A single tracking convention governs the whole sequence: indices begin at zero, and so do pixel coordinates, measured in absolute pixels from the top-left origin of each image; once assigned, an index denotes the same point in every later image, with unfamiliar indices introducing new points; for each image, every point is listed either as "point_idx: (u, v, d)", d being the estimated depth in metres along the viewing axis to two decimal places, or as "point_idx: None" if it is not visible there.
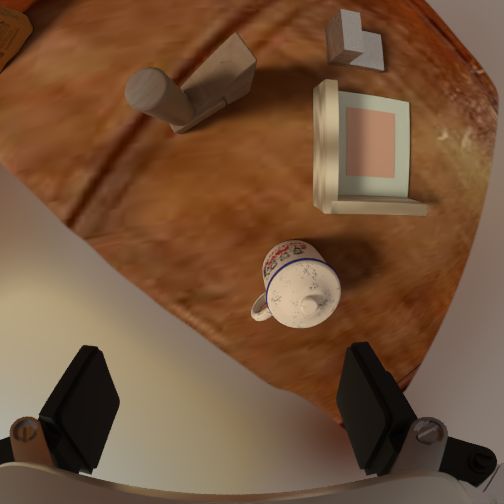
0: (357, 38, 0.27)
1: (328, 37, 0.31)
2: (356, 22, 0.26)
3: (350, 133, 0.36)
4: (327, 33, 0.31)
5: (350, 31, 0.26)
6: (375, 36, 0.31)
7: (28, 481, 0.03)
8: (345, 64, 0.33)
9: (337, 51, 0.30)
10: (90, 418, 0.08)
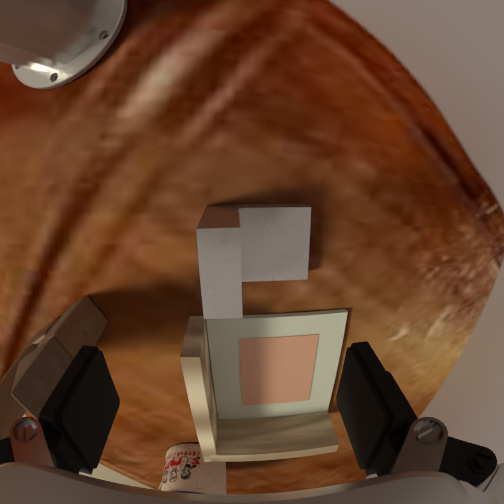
0: (230, 292, 0.18)
1: None
2: (230, 255, 0.18)
3: (245, 368, 0.28)
4: None
5: (217, 280, 0.18)
6: (299, 213, 0.23)
7: (28, 481, 0.03)
8: None
9: None
10: (90, 418, 0.08)
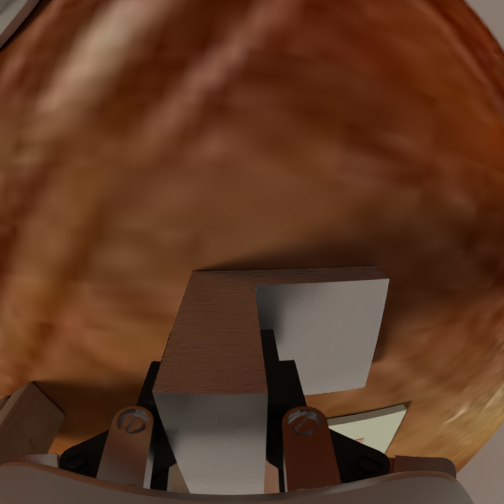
0: (241, 478, 0.07)
1: None
2: (241, 437, 0.06)
3: None
4: None
5: (213, 466, 0.07)
6: (368, 291, 0.11)
7: (28, 481, 0.03)
8: None
9: None
10: None
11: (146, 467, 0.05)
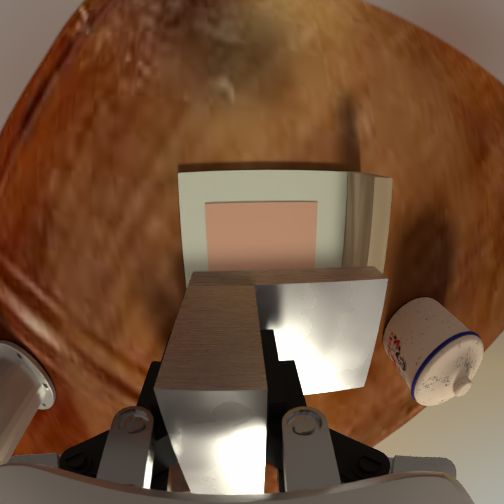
0: (241, 476, 0.07)
1: None
2: (241, 434, 0.06)
3: None
4: None
5: (213, 464, 0.07)
6: (367, 291, 0.12)
7: (28, 481, 0.03)
8: None
9: None
10: None
11: (146, 467, 0.05)
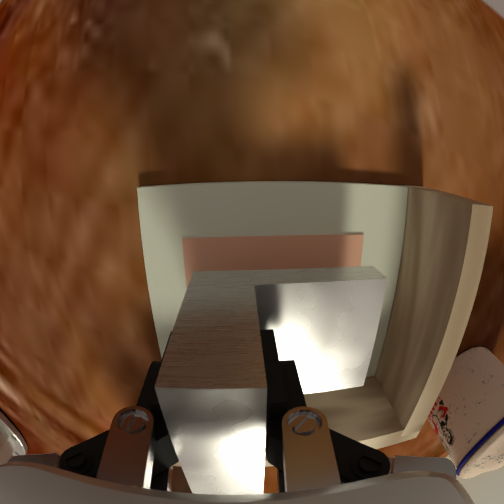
0: (241, 474, 0.07)
1: None
2: (241, 432, 0.07)
3: None
4: None
5: (213, 462, 0.07)
6: (366, 290, 0.12)
7: (28, 481, 0.03)
8: None
9: None
10: None
11: (146, 467, 0.05)
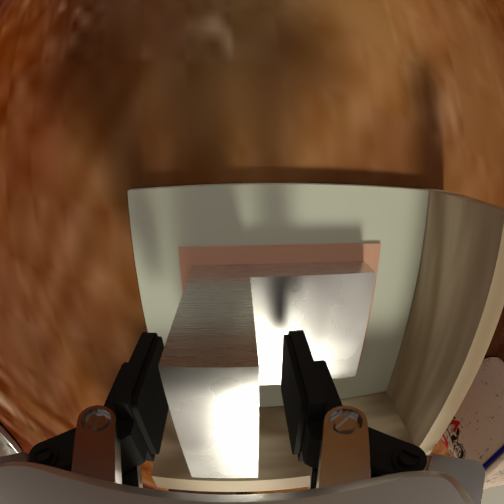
0: (237, 454, 0.08)
1: None
2: (236, 410, 0.07)
3: None
4: None
5: (211, 441, 0.08)
6: (356, 284, 0.12)
7: (28, 481, 0.03)
8: None
9: None
10: (155, 403, 0.09)
11: (115, 462, 0.05)
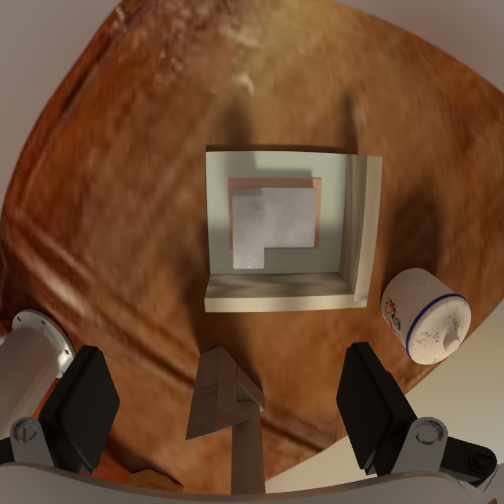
0: (255, 246, 0.24)
1: None
2: (256, 217, 0.24)
3: None
4: None
5: (245, 236, 0.24)
6: (307, 193, 0.29)
7: (28, 480, 0.03)
8: None
9: None
10: (90, 418, 0.08)
11: (53, 464, 0.05)
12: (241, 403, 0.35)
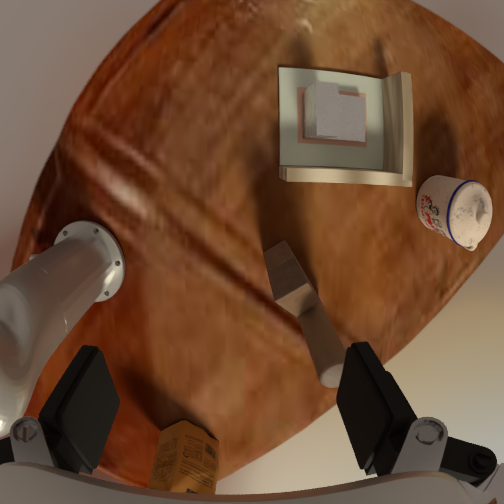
0: (332, 118, 0.28)
1: (304, 106, 0.33)
2: (333, 97, 0.28)
3: (325, 140, 0.36)
4: (303, 101, 0.33)
5: (325, 110, 0.28)
6: (358, 100, 0.33)
7: (28, 481, 0.03)
8: (321, 138, 0.35)
9: (310, 131, 0.31)
10: (90, 418, 0.08)
11: (53, 464, 0.05)
12: None
